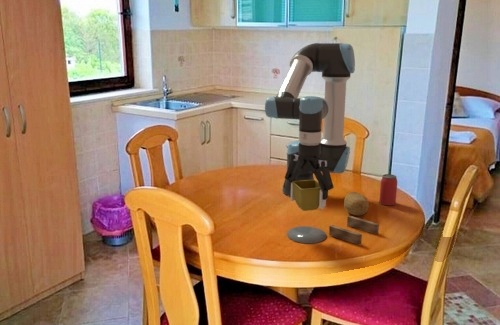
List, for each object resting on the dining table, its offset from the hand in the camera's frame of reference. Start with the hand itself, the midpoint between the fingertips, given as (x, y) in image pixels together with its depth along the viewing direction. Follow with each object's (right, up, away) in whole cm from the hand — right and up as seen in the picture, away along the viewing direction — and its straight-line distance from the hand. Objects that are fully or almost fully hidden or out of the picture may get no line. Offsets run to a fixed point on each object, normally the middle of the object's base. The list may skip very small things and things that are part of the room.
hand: (307, 203), depth 173 cm
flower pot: (0, -2, 0) cm, 2 cm away
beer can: (+37, -3, +34) cm, 51 cm away
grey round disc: (0, -11, +3) cm, 12 cm away
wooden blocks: (+17, -11, +4) cm, 21 cm away
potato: (+22, -6, +23) cm, 33 cm away
